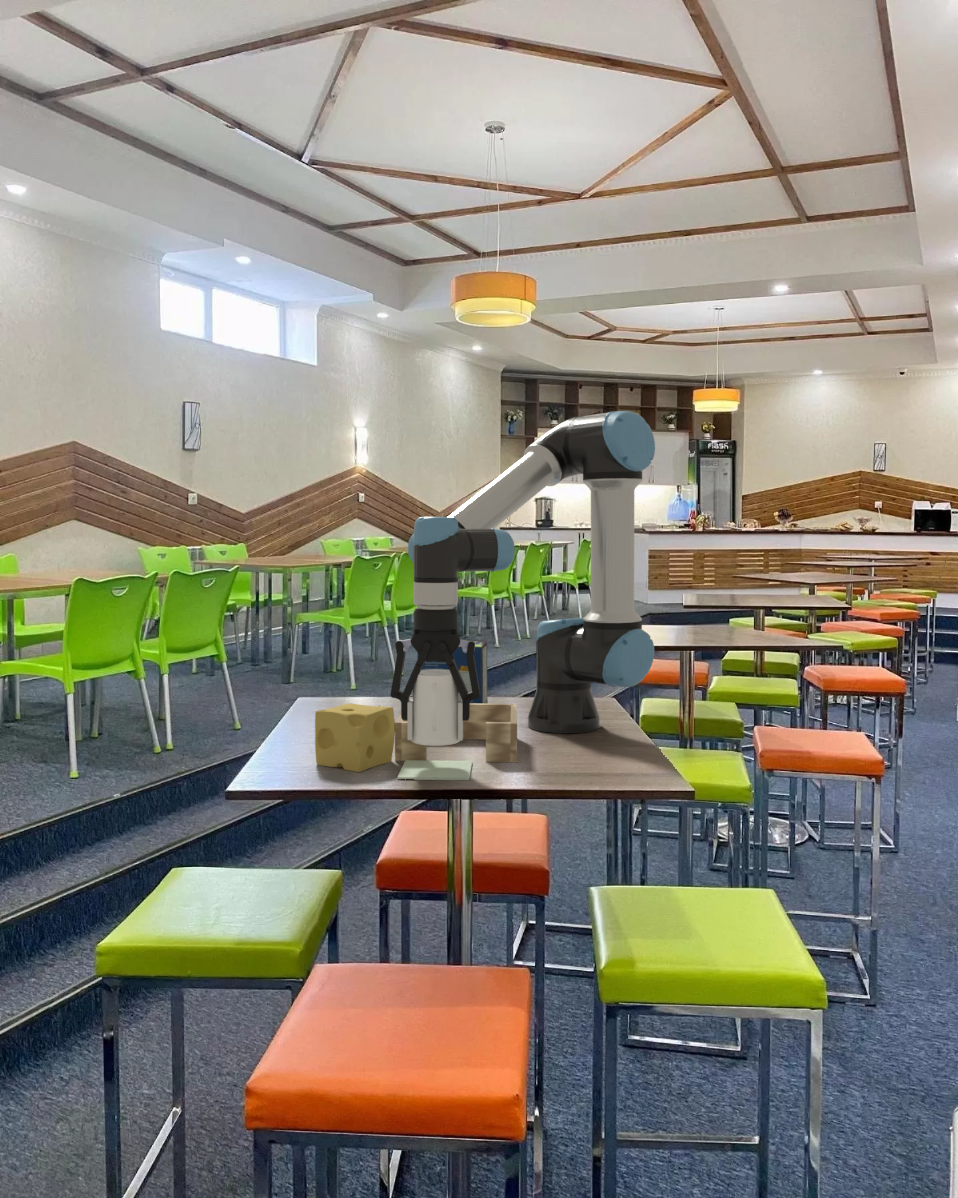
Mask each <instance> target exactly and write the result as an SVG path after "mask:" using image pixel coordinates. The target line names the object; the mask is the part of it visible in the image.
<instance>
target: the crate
mask: <svg viewBox="0 0 958 1198" xmlns="http://www.w3.org/2000/svg"><path fill="white" fill-rule="evenodd" d="M463 740H485V763H486V762H487V763H517V762H518V703H488V704H476V703H470V717H469V720H468V721H463ZM427 746H428V745H420V744H416V743H413V742H412V741H411V740H407V720H402V718H401V713H399V716H398V717H397V718H396V720H395V736H394V761H395V762H405V760H428V757H427V755H428V754H427V753H428V752H427V751H428V750H427Z"/></svg>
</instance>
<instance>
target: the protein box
mask: <svg viewBox="0 0 958 1198" xmlns="http://www.w3.org/2000/svg"><path fill="white" fill-rule="evenodd" d="M474 641H475V649H474V658H475V664H476V670H477V676H478V682H479V688H480V697H479V698H478V699H474V700H471V701H470V703H476V704H489V702H488V642H487V641H486V640H474ZM452 655H453V657H454V660H455V663H456V665H457V667H458V670H459V672H460V674H461V677H462V679H463V681H464V684H465V686H466V688H467V690H468V693H469V692H472V688H471V682H470V676H469V671H468V665H467V658H466V653H464V652H463V650H462V647H461V646H460V645H459V646H458V647H457V649H456V650H455V651H454V653H453V654H452ZM418 657H419V654H418V653H417V652H416V659H418ZM430 669H441V670H449V668H448V666H447V664H446V662H445V661H444V662H438V661H432V662H426V661H425V663H424V665H423V667H422V669H421V670H430ZM459 700H462V698H461V696H460V693H459Z"/></svg>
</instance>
